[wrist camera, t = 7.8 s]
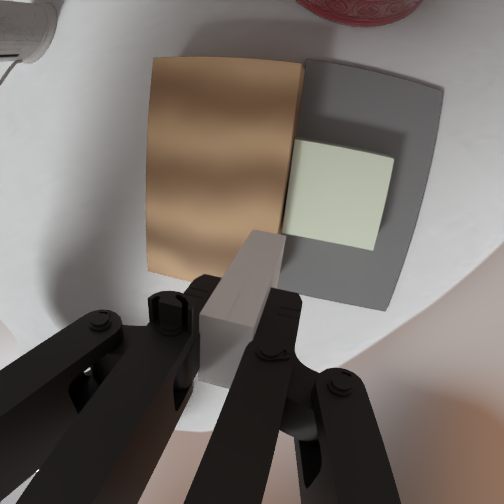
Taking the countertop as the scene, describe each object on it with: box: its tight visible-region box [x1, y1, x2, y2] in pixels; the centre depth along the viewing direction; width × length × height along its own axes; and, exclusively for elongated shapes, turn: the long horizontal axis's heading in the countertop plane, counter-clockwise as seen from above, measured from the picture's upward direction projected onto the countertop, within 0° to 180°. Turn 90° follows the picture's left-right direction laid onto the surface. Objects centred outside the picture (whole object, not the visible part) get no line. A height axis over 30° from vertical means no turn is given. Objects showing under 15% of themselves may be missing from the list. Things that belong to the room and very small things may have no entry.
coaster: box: [282, 137, 394, 251], centre depth 26 cm, size 8×8×2 cm
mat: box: [277, 59, 443, 311], centre depth 27 cm, size 22×12×1 cm, turn 173°
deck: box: [146, 57, 305, 282], centre depth 27 cm, size 20×12×4 cm, turn 173°
